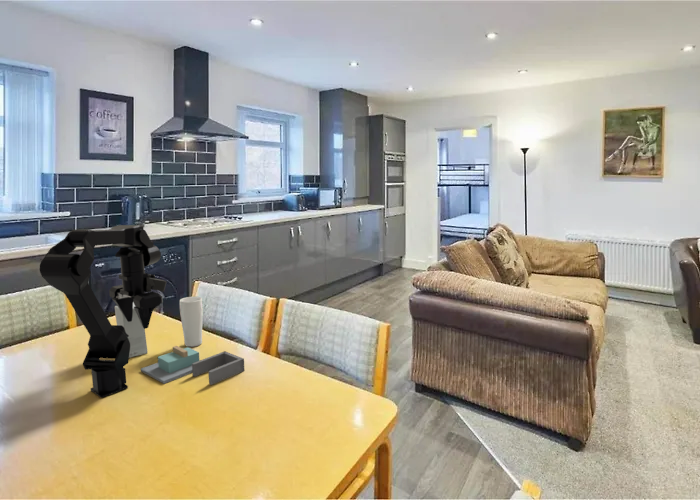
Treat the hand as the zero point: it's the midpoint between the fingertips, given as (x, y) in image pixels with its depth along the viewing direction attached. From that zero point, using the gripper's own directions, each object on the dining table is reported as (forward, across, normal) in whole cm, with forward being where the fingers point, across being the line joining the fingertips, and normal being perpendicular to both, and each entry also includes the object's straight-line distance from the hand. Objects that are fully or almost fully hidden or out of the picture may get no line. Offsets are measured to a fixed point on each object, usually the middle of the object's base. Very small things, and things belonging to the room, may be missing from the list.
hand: (137, 324), depth 120 cm
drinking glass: (+12, +2, -18) cm, 22 cm away
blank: (+11, -10, -6) cm, 16 cm away
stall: (+12, -22, -10) cm, 27 cm away
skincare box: (+12, +11, -3) cm, 17 cm away
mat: (+12, -10, -4) cm, 16 cm away
